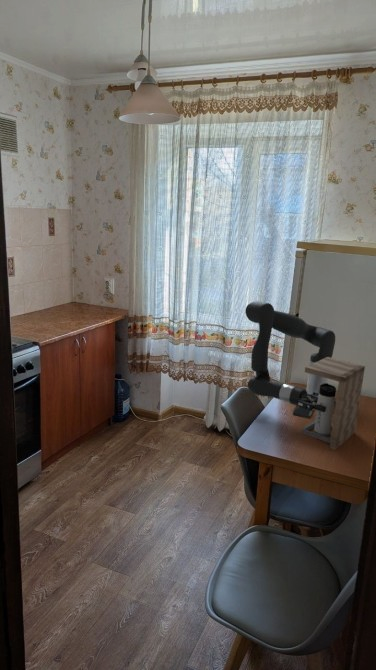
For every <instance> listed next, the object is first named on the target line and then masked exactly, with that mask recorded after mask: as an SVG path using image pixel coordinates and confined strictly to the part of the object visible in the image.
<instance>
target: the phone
mask: <svg viewBox="0 0 376 670" xmlns="http://www.w3.org/2000/svg"><path fill="white" fill-rule="evenodd" d="M307 407H308V406H307ZM308 408H309V407H308ZM314 411H315V410H313V409H312V411H309V410H307V409H304V408H301V407H298V406H296V405H295V407H294V410H293V411H292V415H294V416H295V417H296V416H297V417H302V418H306V419H310V418H311V417H312V416H313V413H314Z"/></svg>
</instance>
